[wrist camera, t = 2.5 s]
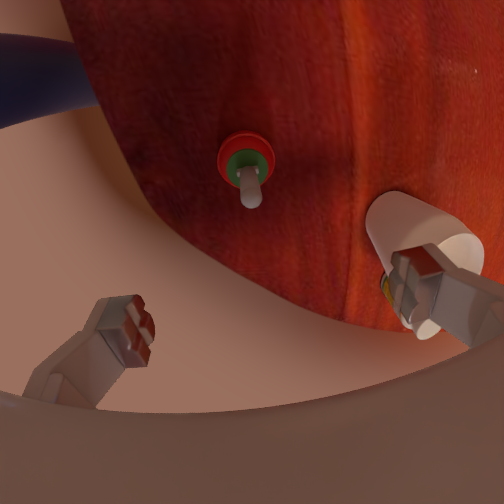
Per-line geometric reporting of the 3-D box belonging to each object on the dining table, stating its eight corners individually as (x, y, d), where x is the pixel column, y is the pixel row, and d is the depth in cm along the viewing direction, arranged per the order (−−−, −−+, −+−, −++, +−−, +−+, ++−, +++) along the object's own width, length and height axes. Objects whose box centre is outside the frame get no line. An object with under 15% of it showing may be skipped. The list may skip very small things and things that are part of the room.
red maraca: (224, 185, 27) (216, 248, 17) (213, 135, 25) (195, 166, 14) (275, 176, 27) (301, 234, 17) (267, 125, 24) (291, 149, 14)
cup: (412, 167, 27) (484, 212, 16) (426, 231, 31) (483, 289, 21) (343, 201, 28) (397, 265, 18) (367, 263, 33) (410, 335, 22)
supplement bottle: (376, 296, 36) (405, 348, 27) (383, 263, 33) (418, 314, 25) (409, 290, 36) (441, 338, 27) (417, 257, 33) (456, 304, 25)
